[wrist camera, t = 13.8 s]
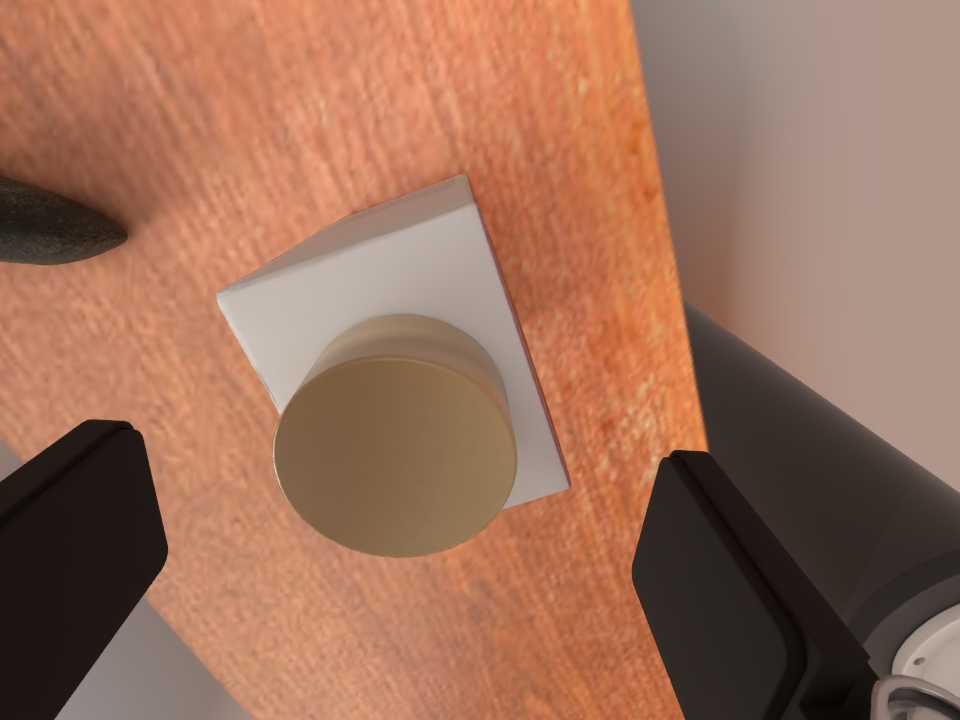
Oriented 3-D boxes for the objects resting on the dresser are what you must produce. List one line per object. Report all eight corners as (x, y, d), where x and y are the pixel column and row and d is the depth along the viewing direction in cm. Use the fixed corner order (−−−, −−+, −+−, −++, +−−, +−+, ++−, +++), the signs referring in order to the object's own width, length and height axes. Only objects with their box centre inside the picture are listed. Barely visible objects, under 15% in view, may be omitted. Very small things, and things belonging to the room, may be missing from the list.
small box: (521, 327, 25) (577, 495, 13) (406, 366, 26) (359, 560, 14) (468, 166, 22) (478, 196, 10) (338, 215, 22) (200, 298, 11)
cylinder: (517, 320, 11) (532, 364, 9) (497, 491, 13) (504, 562, 11) (299, 306, 11) (259, 349, 9) (312, 484, 13) (282, 555, 10)
